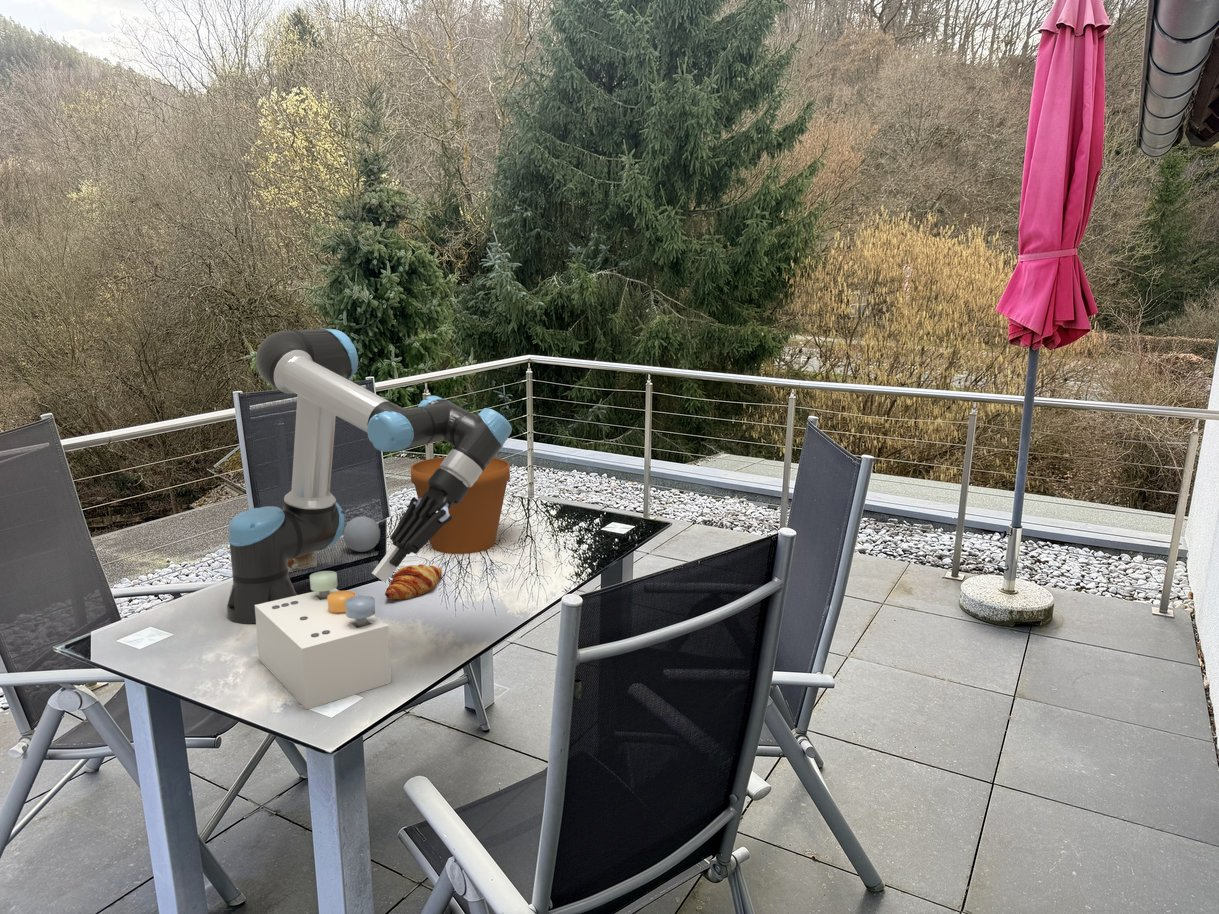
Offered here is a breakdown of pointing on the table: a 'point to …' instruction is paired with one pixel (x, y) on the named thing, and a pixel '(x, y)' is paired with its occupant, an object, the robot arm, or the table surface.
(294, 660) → the console
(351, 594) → the button orange
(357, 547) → the grey ball
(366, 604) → the button slate
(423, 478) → the flowerpot
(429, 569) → the croissant
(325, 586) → the button sage
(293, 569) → the coffee box
